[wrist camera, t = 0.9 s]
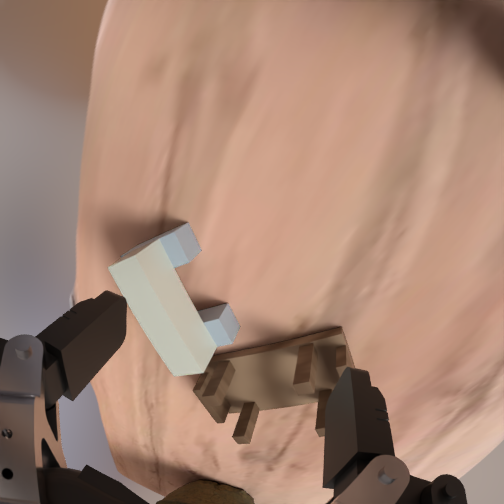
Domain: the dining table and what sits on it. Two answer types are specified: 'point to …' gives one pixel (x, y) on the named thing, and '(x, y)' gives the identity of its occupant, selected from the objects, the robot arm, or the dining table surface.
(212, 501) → the clay pot
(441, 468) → the dining table surface
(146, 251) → the white rectangular block
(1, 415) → the robot arm
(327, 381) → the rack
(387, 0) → the dining table surface
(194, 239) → the pair of grey blocks
